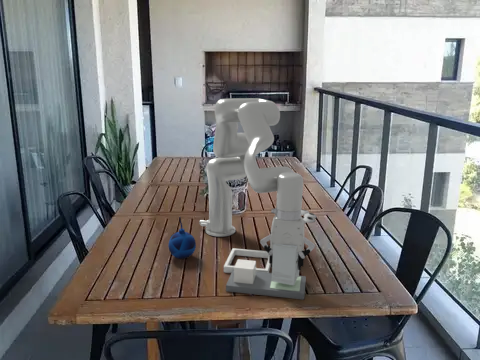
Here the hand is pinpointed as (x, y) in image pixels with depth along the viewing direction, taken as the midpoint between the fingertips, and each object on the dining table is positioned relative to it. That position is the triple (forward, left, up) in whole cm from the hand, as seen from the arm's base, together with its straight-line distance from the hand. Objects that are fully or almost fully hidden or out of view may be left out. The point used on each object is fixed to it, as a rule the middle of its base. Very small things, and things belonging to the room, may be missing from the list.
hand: (286, 266), depth 132 cm
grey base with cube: (-6, 0, -7) cm, 10 cm away
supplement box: (0, 0, -4) cm, 4 cm away
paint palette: (-1, +67, -8) cm, 67 cm away
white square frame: (-14, +14, -7) cm, 21 cm away
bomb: (-39, +15, -8) cm, 42 cm away
